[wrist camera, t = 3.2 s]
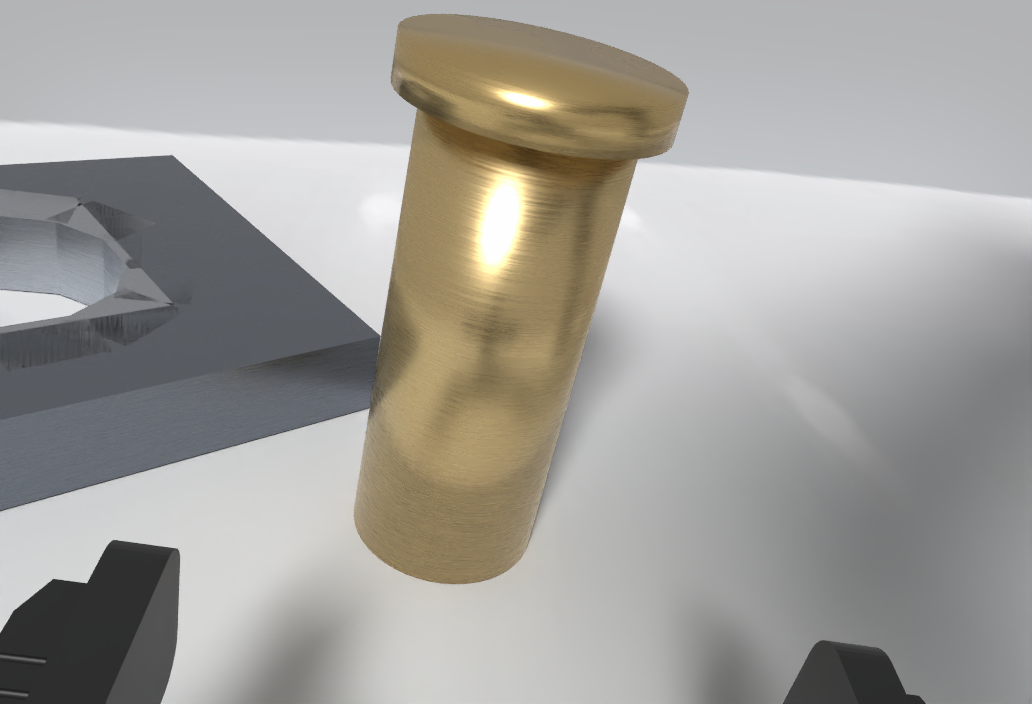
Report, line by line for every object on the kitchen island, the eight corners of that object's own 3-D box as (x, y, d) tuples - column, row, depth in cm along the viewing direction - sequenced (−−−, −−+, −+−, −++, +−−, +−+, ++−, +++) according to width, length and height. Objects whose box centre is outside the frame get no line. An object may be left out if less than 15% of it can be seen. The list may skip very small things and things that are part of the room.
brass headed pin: (461, 430, 28) (552, 20, 22) (596, 550, 24) (746, 102, 18) (287, 486, 24) (339, 7, 18) (417, 638, 20) (535, 108, 14)
